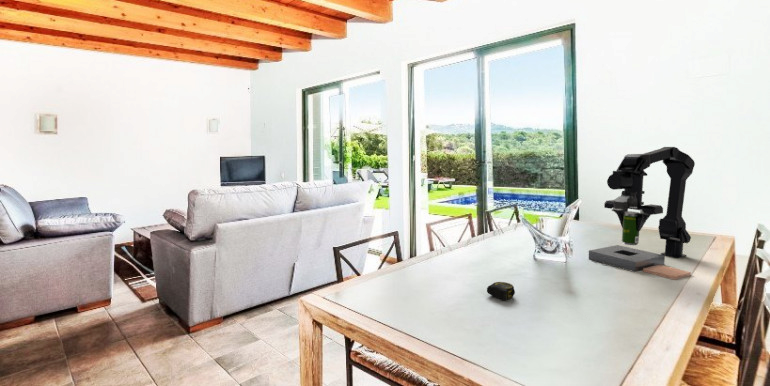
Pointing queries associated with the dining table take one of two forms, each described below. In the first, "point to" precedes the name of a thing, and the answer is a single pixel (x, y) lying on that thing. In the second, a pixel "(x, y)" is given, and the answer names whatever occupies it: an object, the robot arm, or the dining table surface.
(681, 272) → the coaster
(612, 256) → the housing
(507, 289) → the tape measure
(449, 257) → the dining table surface
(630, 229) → the beer can
